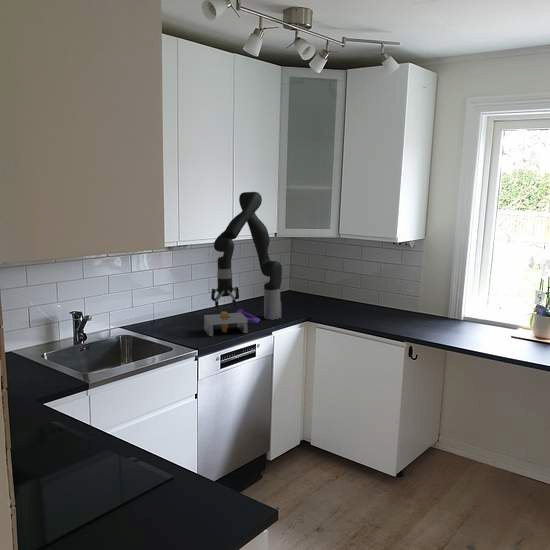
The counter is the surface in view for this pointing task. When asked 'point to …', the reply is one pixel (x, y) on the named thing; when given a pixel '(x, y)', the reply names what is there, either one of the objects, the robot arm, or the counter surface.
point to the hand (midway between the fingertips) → (225, 307)
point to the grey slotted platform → (225, 322)
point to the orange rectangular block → (224, 326)
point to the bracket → (249, 317)
